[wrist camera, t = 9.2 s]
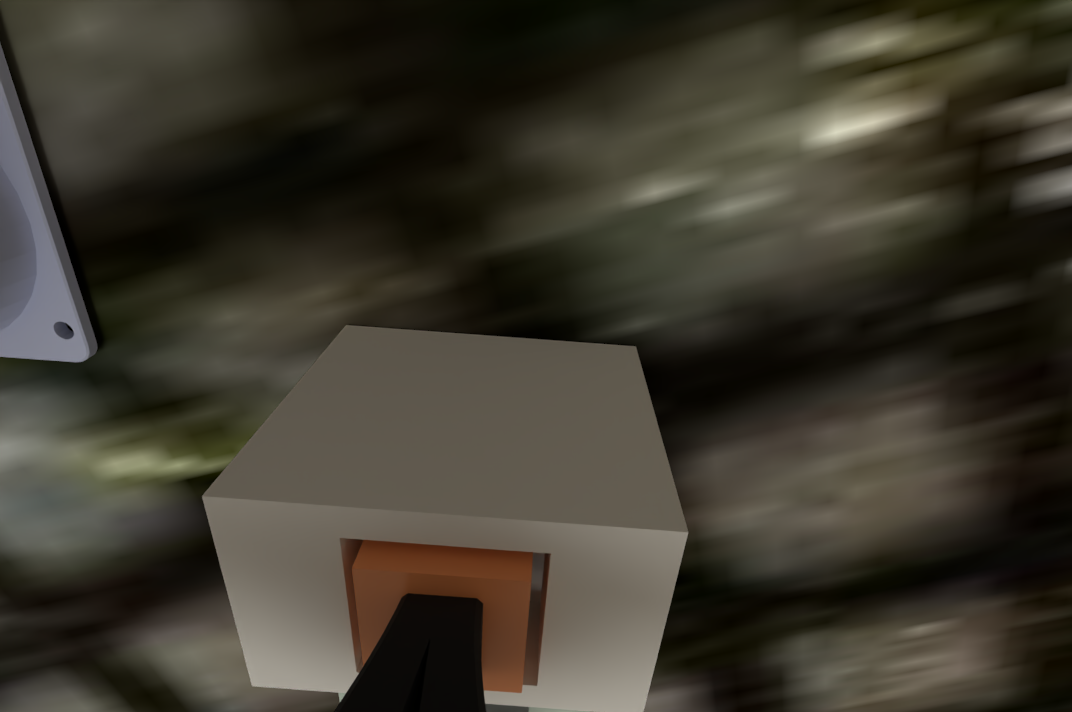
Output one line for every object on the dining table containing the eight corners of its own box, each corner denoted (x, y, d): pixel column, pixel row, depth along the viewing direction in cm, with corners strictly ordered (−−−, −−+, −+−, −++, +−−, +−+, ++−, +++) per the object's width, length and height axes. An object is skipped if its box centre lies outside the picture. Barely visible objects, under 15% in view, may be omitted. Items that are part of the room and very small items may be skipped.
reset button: (387, 482, 11) (351, 568, 9) (536, 493, 11) (531, 581, 9) (395, 586, 13) (365, 680, 11) (527, 596, 13) (522, 693, 11)
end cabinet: (345, 325, 15) (201, 496, 9) (650, 347, 15) (712, 534, 9) (360, 469, 18) (252, 685, 11) (625, 489, 18) (661, 716, 11)
